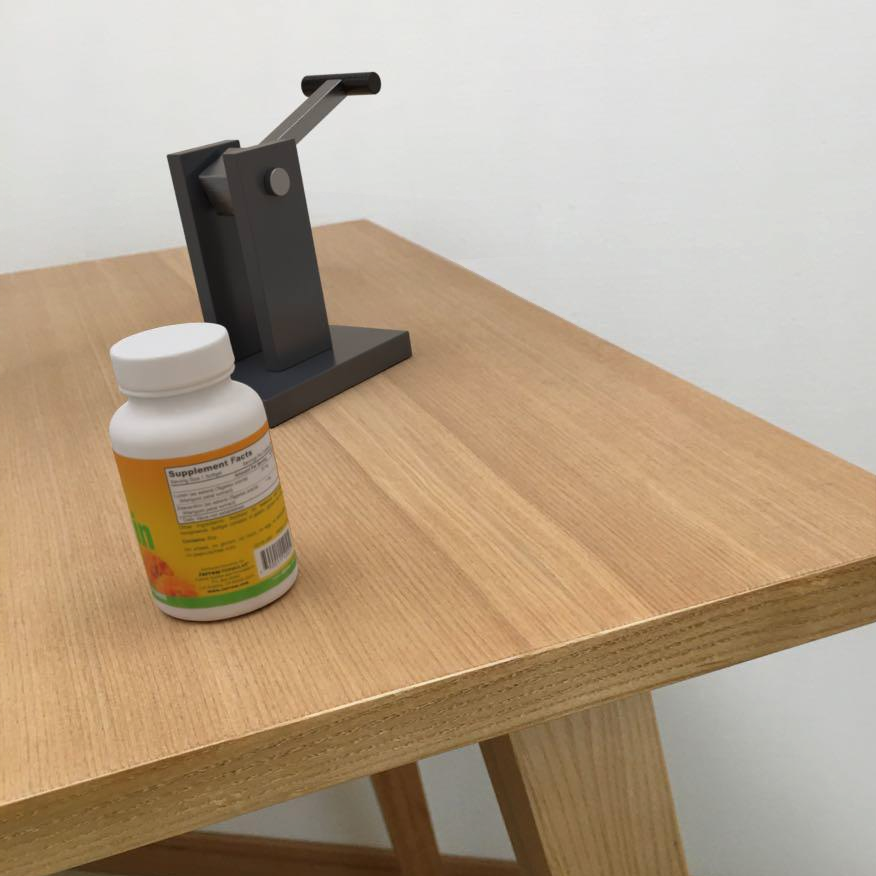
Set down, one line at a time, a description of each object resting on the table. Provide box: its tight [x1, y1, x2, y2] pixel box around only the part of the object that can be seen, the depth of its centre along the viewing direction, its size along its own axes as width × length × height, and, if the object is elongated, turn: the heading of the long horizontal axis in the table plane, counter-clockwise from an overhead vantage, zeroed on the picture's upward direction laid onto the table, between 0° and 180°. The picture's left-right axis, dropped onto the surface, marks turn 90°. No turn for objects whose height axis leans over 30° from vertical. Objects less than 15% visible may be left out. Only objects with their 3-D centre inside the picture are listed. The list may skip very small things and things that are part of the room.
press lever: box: [198, 71, 382, 216], centre depth 67 cm, size 12×5×2 cm, turn 149°
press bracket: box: [166, 138, 413, 428], centre depth 66 cm, size 12×10×13 cm
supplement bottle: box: [108, 322, 299, 622], centre depth 44 cm, size 5×5×10 cm
